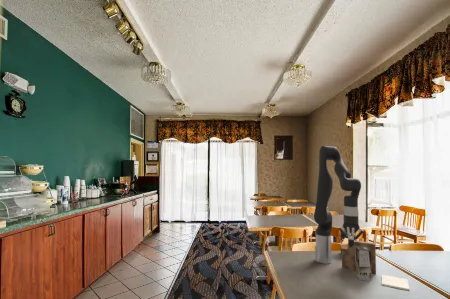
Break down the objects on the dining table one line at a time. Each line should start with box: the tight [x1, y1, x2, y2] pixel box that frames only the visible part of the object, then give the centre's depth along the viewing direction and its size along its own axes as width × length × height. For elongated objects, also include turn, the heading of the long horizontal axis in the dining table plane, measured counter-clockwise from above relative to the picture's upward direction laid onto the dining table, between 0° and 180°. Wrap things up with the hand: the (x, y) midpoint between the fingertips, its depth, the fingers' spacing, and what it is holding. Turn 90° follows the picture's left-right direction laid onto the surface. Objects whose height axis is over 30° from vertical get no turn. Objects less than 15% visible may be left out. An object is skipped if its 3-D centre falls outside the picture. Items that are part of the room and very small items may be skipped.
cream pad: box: [381, 274, 410, 291], centre depth 145 cm, size 12×14×1 cm
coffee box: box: [354, 246, 373, 282], centre depth 152 cm, size 9×6×16 cm
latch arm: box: [340, 236, 352, 250], centre depth 157 cm, size 3×24×2 cm, turn 150°
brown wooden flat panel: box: [341, 239, 377, 276], centre depth 162 cm, size 18×3×17 cm, turn 60°
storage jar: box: [340, 230, 357, 255], centre depth 193 cm, size 10×10×15 cm
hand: (351, 246), depth 149 cm, fingers closed
